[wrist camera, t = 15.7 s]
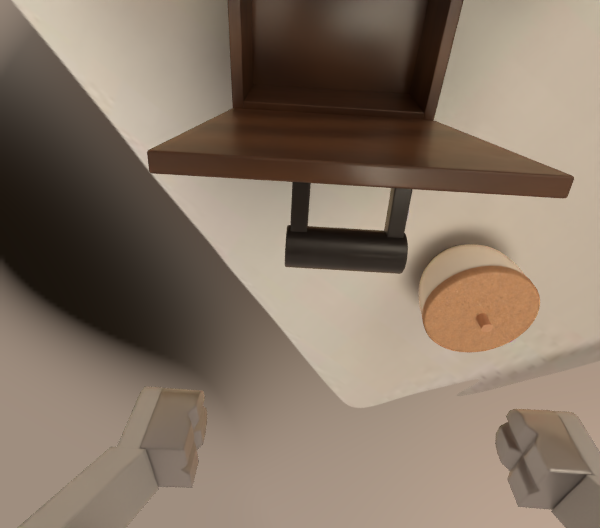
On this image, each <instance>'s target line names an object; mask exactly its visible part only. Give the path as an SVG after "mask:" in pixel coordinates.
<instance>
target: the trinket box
mask: <svg viewBox="0 0 600 528" xmlns="http://www.w3.org/2000/svg"><path fill="white" fill-rule="evenodd" d="M418 296H419V304H420V310H421V314H422V319H423V324H424V327H425V330H426V333H427V334H428V336H429V337H430V338H431V339H432V340H433V341H434V342H435V343H437V344H438V345H440V346H442V347H444V348H446V349H450V350H453V351H459V352H479V351H486V350H490V349H494V348H496V347H499V346H502V345H504V344H506V343H508V342H510V341H512V340H514V339H516V338H517V337H518V336H520V335H521V334H522V333H523V332H525V331H526V330H527V329H528V328H529V327H530V325H531V324H532V323H533V321H534V320H535V318H536V316H537V314H538V310H539V306H540V297H539V294H538V291H537V289H536V287H535V286H534V285H533V283H532V282H531V281H530V279H529V278H527V277H526V276H525V274H524V273H523V272H522V270H521V269H520V268H519V267H518V266H517V265H516V264H515V263H514V262H513V261H512V260H511V259H510V258H508V257H507V256H506V255H504V254H503V253H501V252H499V251H498V250H495V249H493V248H490V247H487V246H483V245H475V244H467V245H460V246H454V247H451V248H448V249H446V250H444V251H443V252H441V253H440V254H439V255H437V256H436V257H435V258H434V259H433V260H432V261H431V262H430V263H429V264H428V266H427V267H426V268H425V270H424V272H423V274H422V277H421V280H420V283H419V295H418Z"/></svg>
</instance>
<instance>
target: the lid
mask: <svg viewBox="0 0 600 528" xmlns="http://www.w3.org/2000/svg"><path fill="white" fill-rule="evenodd" d="M147 155H148V164H149V171H150V173H156V174H172V175H188V176H205V177H221V178H238V179H254V180H271V181H287V182H293V186H292V206H291V225H288V226H287V233H286V248H285V267H296V268H313V269H330V270H347V271H364V272H381V273H398V274H400V273H402V272H403V270H404V268H405V265H406V261H407V253H408V244H407V237H406V234H405V233H404V231H405V226H406V221H407V215H408V210H409V205H410V199H411V194H412V189H419V190H435V191H452V192H468V193H485V194H501V195H518V196H534V197H550V198H567V196H568V194H569V191H570V188H571V186H572V183H573V180H574V177H573V176H571V175H569V174H566V173H564V172H561V171H559V170H556V169H554V168H551V167H549V166H546V165H544V164H541V163H539V162H536V161H534V160H532V159H529V158H527V157H524V156H522V155H519V154H517V153H514V152H512V151H509V150H507V149H504V148H502V147H499V146H497V145H494V144H492V143H489V142H487V141H484V140H482V139H479V138H477V137H474V136H472V135H469V134H467V133H464V132H462V131H459V130H457V129H454V128H452V127H449V126H447V125H444V124H442V123H439V122H437V121H432V120H415V119H399V118H383V117H367V116H351V115H335V114H319V113H303V112H287V111H270V110H254V109H238V108H232V109H230V110H228V111H226V112H224V113H222V114H220V115H218V116H216V117H214V118H212V119H210V120H208V121H206V122H204V123H202V124H200V125H198V126H196V127H194V128H192V129H190V130H188V131H186V132H184V133H182V134H180V135H178V136H176V137H174V138H172V139H170V140H168V141H166V142H164V143H162V144H160V145H158V146H156V147H154V148H152V149H150V150H148V152H147ZM311 183H320V184H337V185H353V186H369V187H386V188H391V193H390V199H389V205H388V211H387V217H386V223H385V229H384V231H379V230H362V229H346V228H329V227H312V226H308V213H309V198H310V184H311Z"/></svg>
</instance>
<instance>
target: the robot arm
mask: <svg viewBox="0 0 600 528" xmlns="http://www.w3.org/2000/svg"><path fill="white" fill-rule="evenodd" d="M204 399H205V397H204V392H203V391H199V390H186V389H172V388H161V387H144V388H143V390H142V391H141V392H140V394H139V396H138V399H137V401H136V404H135V406H134V408H133V410H132V413H131V415H130V417H129V420H128V422H127V425H126V427H125V429H124V431H123V434H122V436H121V438H120V441H119V443H118V445H117V447H110V448H109V449H108V450H107V451H105V452H104V453H103V454H102V455H101V456H100V457H99V458H97V459H96V460H95V461H94V462H93V463H92V464H90V465H89V466H88V467H87V468H86V469H85V470H83V471H82V472H81V473H80V474H79V475H78V476H76V478H74V479H73V480H72V481H71V482H70V483H68V484H67V485H66V486H65V487H64V488H63V489H61V490H60V491H59V492H58V493H57V494H56V495H55V496H53V497H52V498H51V499H50V500H49V501H48V502H47V503H45V504H44V505H43V506H42V507H41V508H39V509H38V510H37V511H36V512H35V513H34V514H33V515H31V516H30V517H29V518H28V519H27V520H26V521H25V522H23V523H22V524H21V525H20V526H19V527H18V528H126V527H127V526H128V525H129V524H130V522H131V521H132V520H133V519H134V518H135V516H136V515H137V514H138V513H139V512H140V511H141V509H142V508H143V507H144V506H145V505H146V503H147V502H148V501H149V500H150V499H151V497H152V496H153V495H154V494H155V493H156V491H157V490H158V487H187V488H192V486H193V482H194V478H195V474H196V470H197V466H198V462H199V460H198V454H197V450H198V449H199V448H200V447H201V446H202V445H203V441H204V437H205V432H206V425H207V410H206V408H205V407H204V406H203V403H204ZM506 417H507V420H508V422H507V423H505V424H503V425H501V426H500V427H499V429H498V431H497V433H496V443H495V444H496V449H497V453H498V456H499V459H500V461H501V463H502V464H503V465H504V466H505V467H506V468H508V469H509V470H510V473H509V476H508V482H509V484H510V487H511V490H512V492H513V494H514V497H515V499H516V502H517V505H518V507H529V508H540V509H551V510H552V513H553V514H554V515H555V516H556V517H557V518H558V519H559V521H560V522H561V523H562V524H563V525H564V526H565V527H566V528H600V452H599V450H598V448H597V447H596V445H595V443H594V442H593V440H592V438H591V437H590V435H589V434H588V432H587V430H586V429H585V427H584V425H583V424H582V422H581V421H580V419H579V418H578V416H576V415H575V414H574V413H572V412H561V411H550V410H529V409H527V410H526V409H513V410H510V411H509V413H508V414H507V416H506Z"/></svg>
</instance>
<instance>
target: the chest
mask: <svg viewBox="0 0 600 528" xmlns="http://www.w3.org/2000/svg"><path fill="white" fill-rule="evenodd" d="M462 4H463V0H228V18H229V39H230V60H231V80H232V101H233V108H238V109H254V110H270V111H287V112H303V113H319V114H335V115H351V116H367V117H383V118H399V119H415V120H432V121H433V120H434V116H435V112H436V108H437V104H438V100H439V96H440V92H441V88H442V84H443V80H444V76H445V72H446V68H447V64H448V60H449V56H450V52H451V48H452V44H453V40H454V36H455V32H456V28H457V24H458V20H459V16H460V12H461V8H462Z"/></svg>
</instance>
